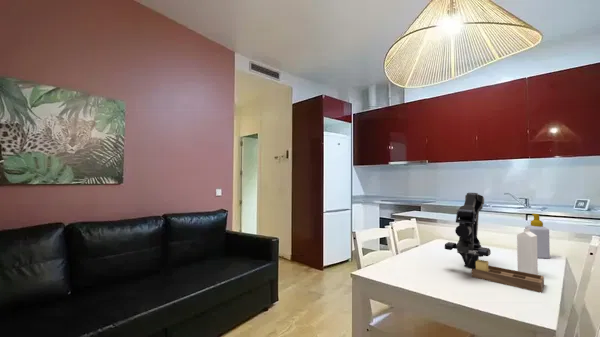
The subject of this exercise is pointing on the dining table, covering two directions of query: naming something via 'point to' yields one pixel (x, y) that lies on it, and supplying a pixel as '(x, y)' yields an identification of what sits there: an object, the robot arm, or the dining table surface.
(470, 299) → the dining table surface
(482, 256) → the robot arm
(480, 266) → the block
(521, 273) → the wooden compartment tray
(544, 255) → the soap bottle
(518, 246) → the milk
